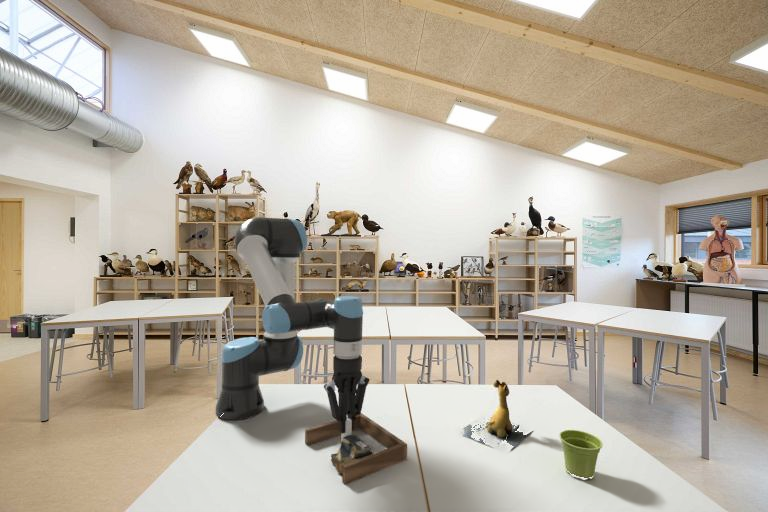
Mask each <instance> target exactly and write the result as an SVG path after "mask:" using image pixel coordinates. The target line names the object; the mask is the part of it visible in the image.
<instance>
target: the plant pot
mask: <svg viewBox="0 0 768 512" xmlns="http://www.w3.org/2000/svg"><path fill="white" fill-rule="evenodd" d="M558 436H559V439H560V441H561V445H562V449H563V455H564V464H565V465H564V466H565V470H566V469H567V471H569V472H570V473H571V474H574V475H576V476H579V477H584V478H589V477H592V476H594V475H595V470H596V466H597V462H598V458H599V457H598V455H599V453H600V451H601V449H602V448H603V441H601V439H600V438H598V437H597V436H595V435H593V434H591V433H589V432H586V431H583V430H579V429H577V430H575V429H565V430H562V431H561V432H560V433H559V435H558ZM567 471H566V472H567Z"/></svg>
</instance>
